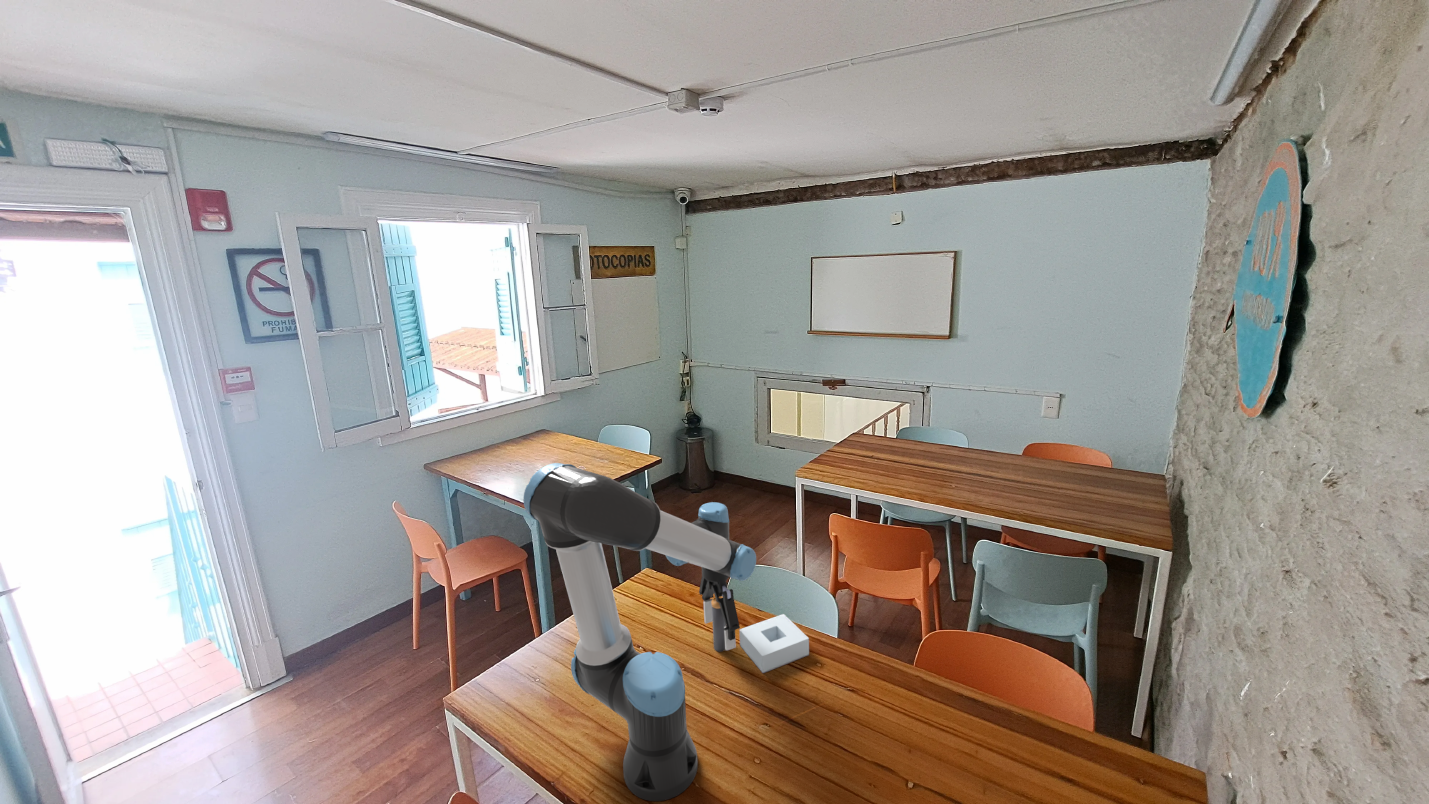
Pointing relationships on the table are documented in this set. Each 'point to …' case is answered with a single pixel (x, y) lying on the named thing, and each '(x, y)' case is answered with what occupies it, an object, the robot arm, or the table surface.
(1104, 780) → the table surface
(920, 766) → the table surface
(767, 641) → the socket block
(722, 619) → the marker
